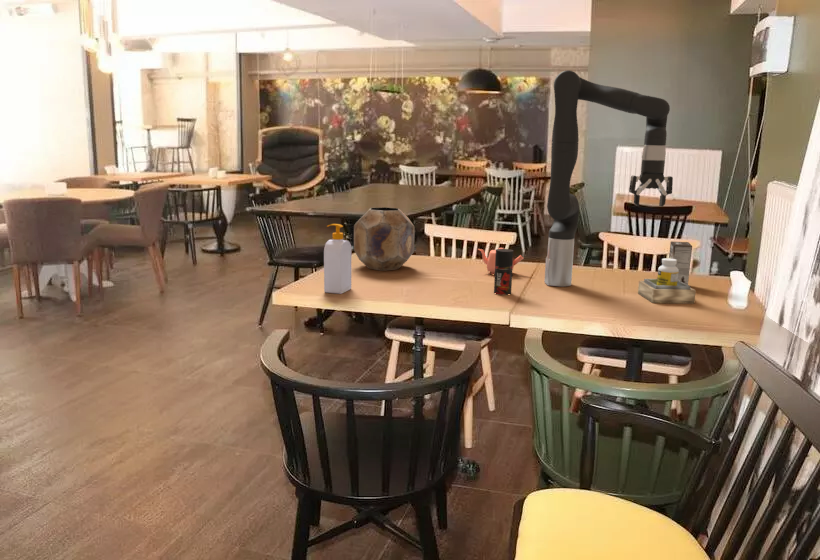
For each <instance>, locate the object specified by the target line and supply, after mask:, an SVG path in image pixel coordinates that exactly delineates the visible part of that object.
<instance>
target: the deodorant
mask: <svg viewBox="0 0 820 560" xmlns="http://www.w3.org/2000/svg"><path fill="white" fill-rule="evenodd" d="M495 250H496V258H495V275H494V283H493V285H494V286H493V294H494V293H496V294H495V295H497V294H500V295H499V296H509V295H508V294H510V295H511V294H512V288H513V287H512V285H513V270H512V267H513V261H514V250H513V249H510V248H509V249H508V248H504V249H498V248H497V249H495ZM513 268H514V267H513Z"/></svg>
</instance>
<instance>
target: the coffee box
mask: <svg viewBox="0 0 820 560" xmlns="http://www.w3.org/2000/svg"><path fill="white" fill-rule="evenodd" d="M669 245H670V246H669V252H668V253H669V255H668V258H670V259H676V260H677V263H676V264H675V266H676V267H677V268H678V270H679V272H678V280H679V281H681V282H683V283H685V284H687V285H689V278H690V270H691V263H692V262H691V259H692V251H693V245H691V243H690V242H689V241H670V243H669Z"/></svg>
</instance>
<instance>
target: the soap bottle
mask: <svg viewBox="0 0 820 560" xmlns="http://www.w3.org/2000/svg"><path fill="white" fill-rule="evenodd" d="M330 226H335V232H332V236H331V237H332V238H331V239H328V240H327V241H326V242H325V243H324V249H323V289H324V291H323V292H324V293H327V294H328V293H329V294H340V295H342V294H343V293H346V292H348V291H350V290H351V289H352V245H351V242H350V241H349V240H344V232H341V230H340V229H341V228H343V227H344V225H342V224H340V223H330V224H328V225H326V227H327V228H328V227H330Z"/></svg>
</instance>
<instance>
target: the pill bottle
mask: <svg viewBox="0 0 820 560" xmlns="http://www.w3.org/2000/svg"><path fill="white" fill-rule="evenodd" d="M676 263H677V260H676V259H670V258H669V257H668V258H665V257H664V258H661V265H660V266H659V267H658V269H657V277H656V279H657V285H658V286H677V281H678V272H679V270H678V268H677V267H676V266H675V264H676Z"/></svg>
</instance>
